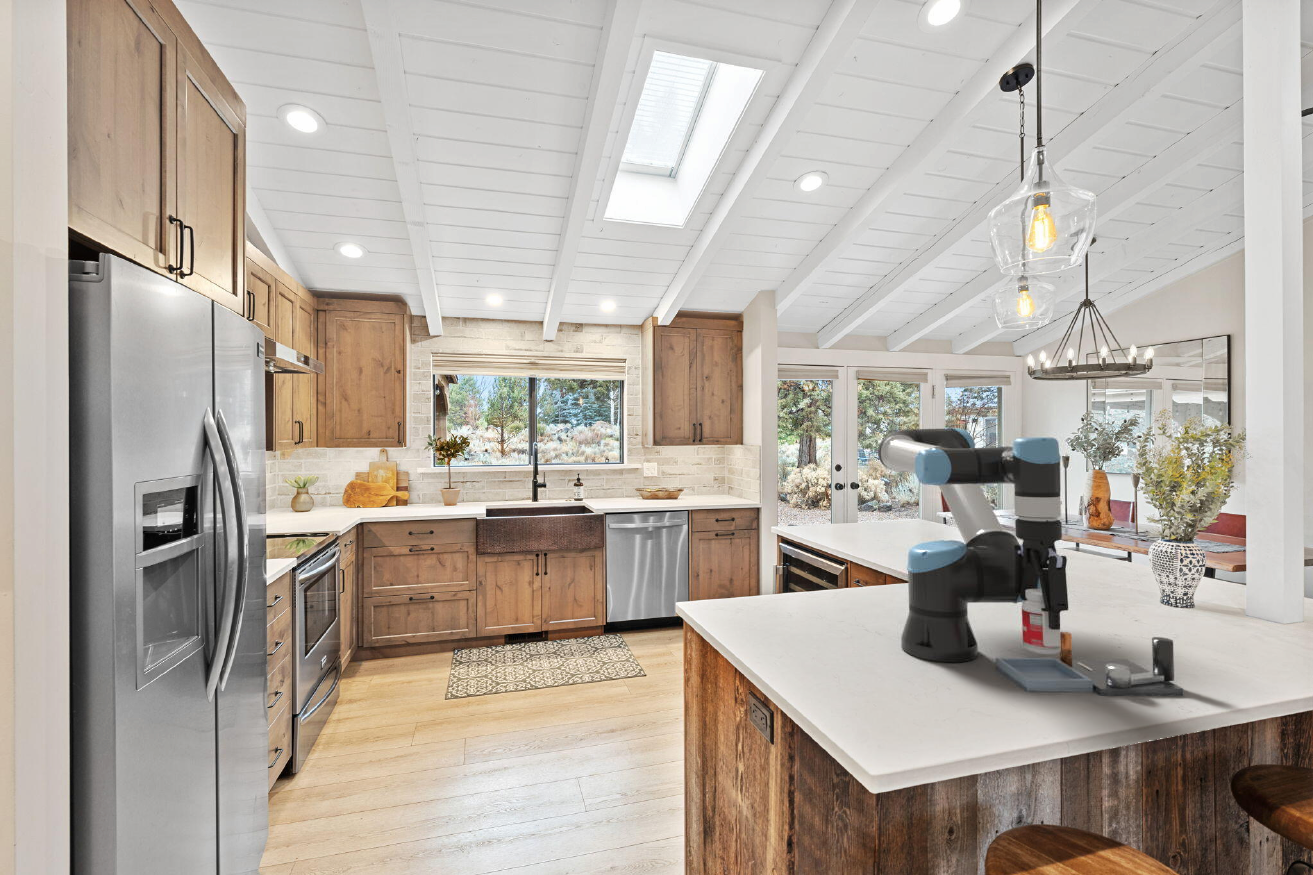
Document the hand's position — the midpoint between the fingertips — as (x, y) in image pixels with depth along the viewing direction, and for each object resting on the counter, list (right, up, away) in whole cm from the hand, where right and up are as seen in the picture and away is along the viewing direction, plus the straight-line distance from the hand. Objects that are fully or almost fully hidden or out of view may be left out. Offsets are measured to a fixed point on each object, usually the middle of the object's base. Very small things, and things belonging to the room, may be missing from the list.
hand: (1041, 639), depth 117 cm
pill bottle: (0, -2, 0) cm, 2 cm away
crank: (+14, -6, -5) cm, 17 cm away
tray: (0, -8, 0) cm, 8 cm away
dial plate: (+13, -7, -1) cm, 15 cm away
